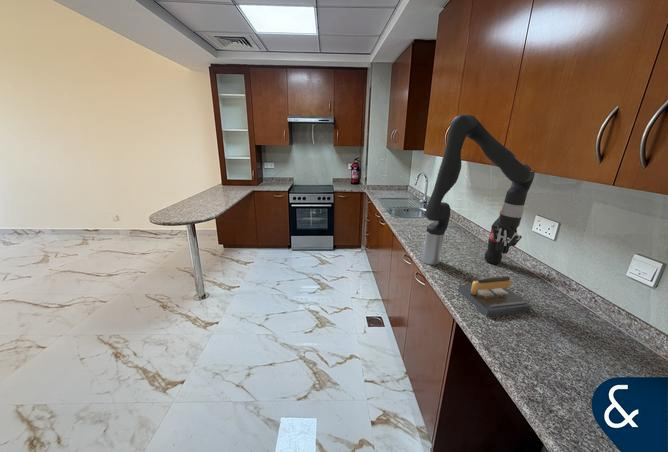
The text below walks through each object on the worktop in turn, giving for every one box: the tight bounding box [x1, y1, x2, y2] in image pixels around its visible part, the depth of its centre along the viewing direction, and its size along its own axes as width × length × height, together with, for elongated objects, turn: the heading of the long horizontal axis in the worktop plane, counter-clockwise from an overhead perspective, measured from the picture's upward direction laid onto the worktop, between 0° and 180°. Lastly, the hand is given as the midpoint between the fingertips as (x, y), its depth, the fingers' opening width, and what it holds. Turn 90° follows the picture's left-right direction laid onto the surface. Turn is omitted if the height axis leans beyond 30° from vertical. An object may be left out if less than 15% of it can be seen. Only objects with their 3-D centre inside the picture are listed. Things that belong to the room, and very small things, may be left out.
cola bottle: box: [483, 210, 504, 265], centre depth 147 cm, size 8×8×30 cm
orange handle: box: [470, 275, 513, 295], centre depth 116 cm, size 3×18×7 cm, turn 101°
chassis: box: [457, 283, 532, 318], centre depth 116 cm, size 18×20×3 cm
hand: (501, 251), depth 118 cm, fingers open, 3 cm apart
